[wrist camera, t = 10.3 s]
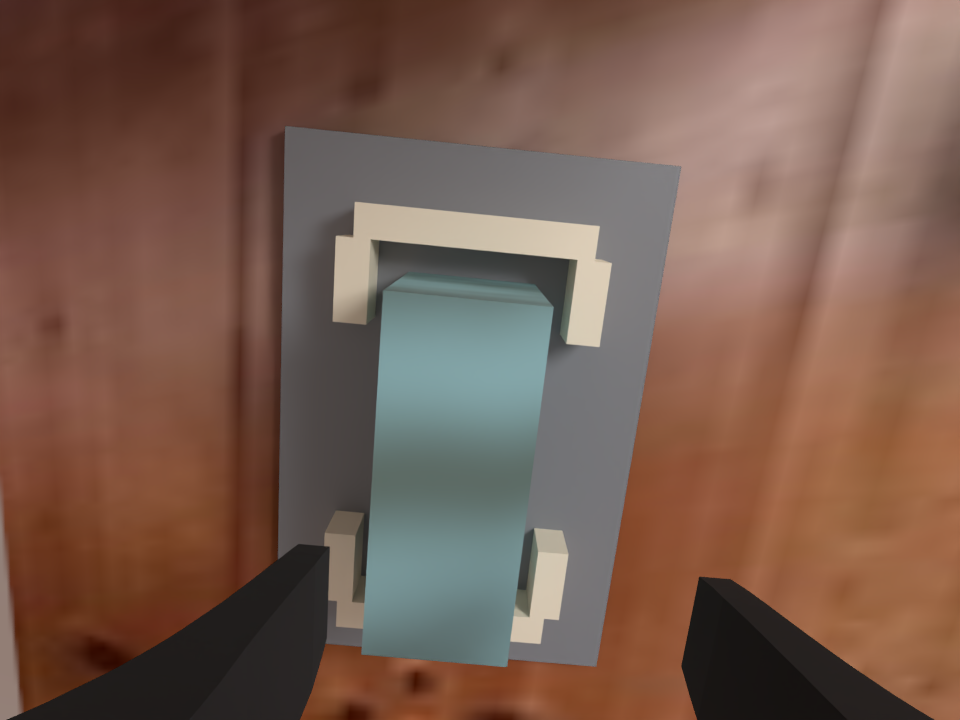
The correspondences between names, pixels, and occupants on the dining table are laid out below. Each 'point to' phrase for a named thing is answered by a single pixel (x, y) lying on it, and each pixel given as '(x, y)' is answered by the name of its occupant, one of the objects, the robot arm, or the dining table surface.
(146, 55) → the dining table surface
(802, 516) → the dining table surface
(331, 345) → the jig
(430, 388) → the teal block
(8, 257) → the dining table surface
